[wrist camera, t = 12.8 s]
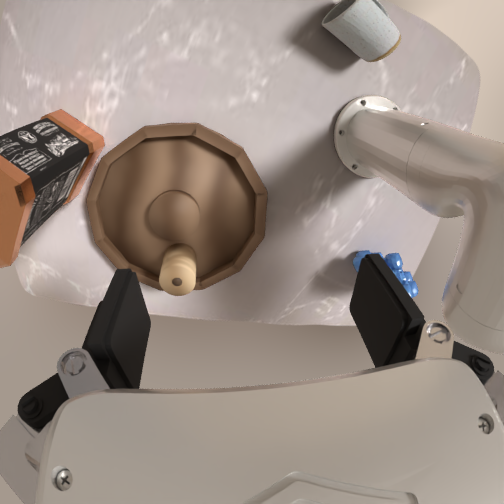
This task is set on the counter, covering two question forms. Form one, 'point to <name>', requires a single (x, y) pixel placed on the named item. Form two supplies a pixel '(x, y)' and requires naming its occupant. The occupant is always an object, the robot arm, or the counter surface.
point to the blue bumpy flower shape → (396, 266)
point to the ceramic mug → (363, 28)
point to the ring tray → (177, 202)
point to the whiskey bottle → (41, 174)
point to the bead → (178, 269)
